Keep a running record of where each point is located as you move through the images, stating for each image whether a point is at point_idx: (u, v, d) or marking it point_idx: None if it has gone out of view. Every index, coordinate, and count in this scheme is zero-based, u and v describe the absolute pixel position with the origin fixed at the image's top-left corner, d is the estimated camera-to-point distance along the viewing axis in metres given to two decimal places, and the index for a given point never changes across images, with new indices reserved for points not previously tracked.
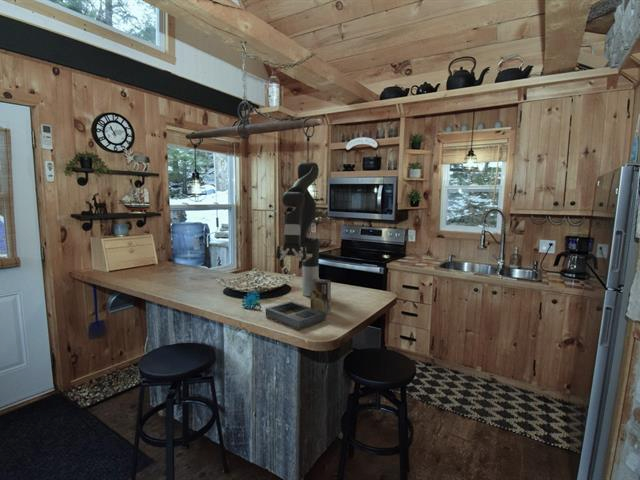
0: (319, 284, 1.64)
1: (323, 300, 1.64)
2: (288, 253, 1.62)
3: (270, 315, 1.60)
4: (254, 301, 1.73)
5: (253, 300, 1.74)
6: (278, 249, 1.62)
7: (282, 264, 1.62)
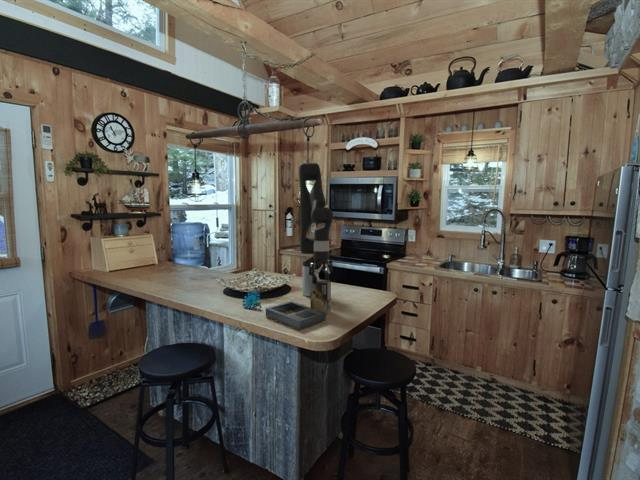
0: (319, 284, 1.64)
1: (323, 300, 1.64)
2: (321, 269, 1.65)
3: (270, 315, 1.60)
4: (254, 301, 1.74)
5: (253, 300, 1.74)
6: (313, 266, 1.61)
7: (316, 280, 1.63)
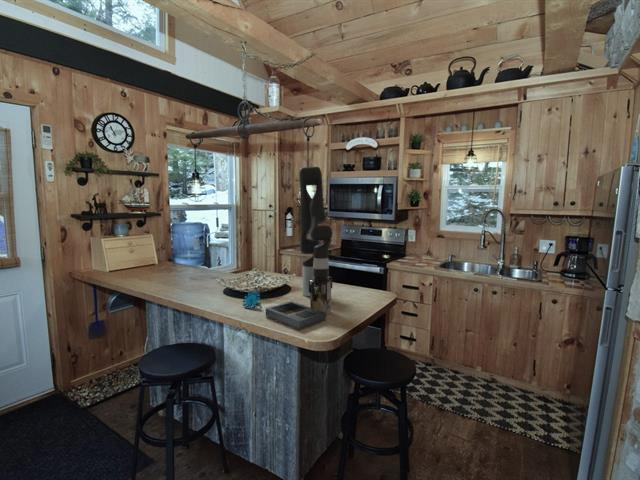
0: (319, 284, 1.64)
1: (322, 300, 1.64)
2: None
3: (270, 315, 1.60)
4: (254, 301, 1.74)
5: (253, 300, 1.74)
6: (313, 284, 1.62)
7: (316, 298, 1.64)
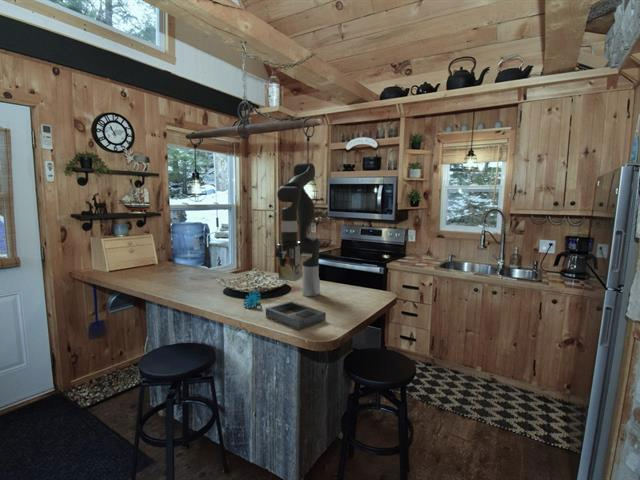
0: (287, 248, 1.55)
1: (291, 265, 1.56)
2: None
3: (270, 315, 1.60)
4: (255, 301, 1.74)
5: (254, 300, 1.74)
6: (280, 248, 1.53)
7: (284, 263, 1.56)
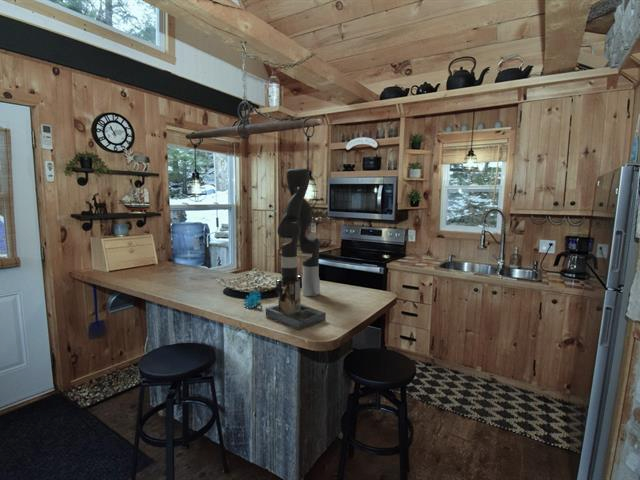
0: (287, 283, 1.57)
1: (291, 300, 1.58)
2: None
3: (270, 315, 1.60)
4: (255, 301, 1.74)
5: (254, 300, 1.75)
6: (280, 284, 1.55)
7: (284, 298, 1.58)
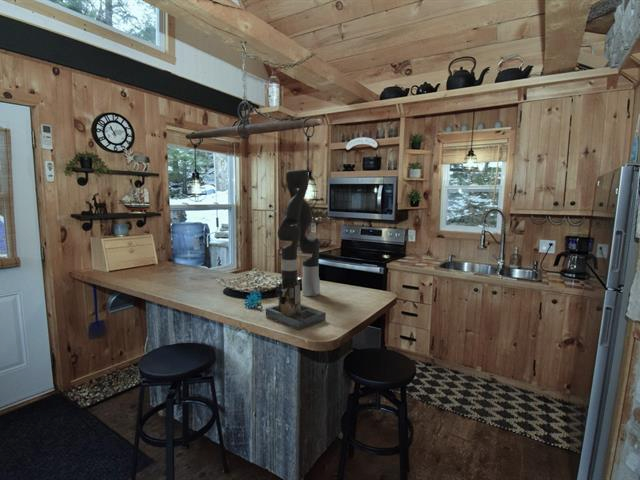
0: None
1: (291, 304, 1.58)
2: None
3: (270, 315, 1.60)
4: (255, 301, 1.74)
5: (255, 300, 1.75)
6: (280, 287, 1.55)
7: (284, 300, 1.58)
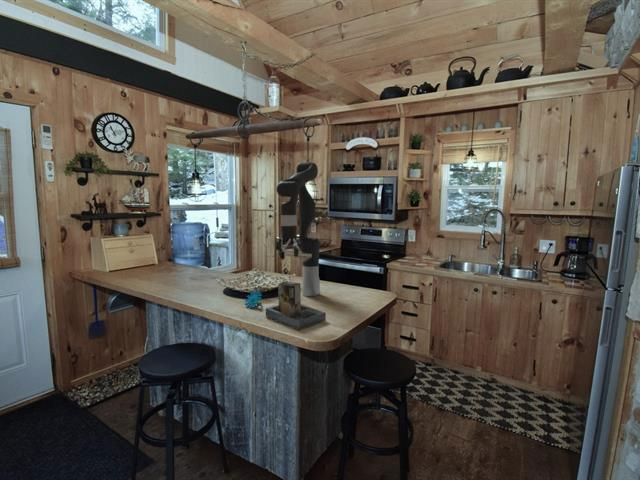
0: (287, 287, 1.58)
1: (291, 304, 1.58)
2: (288, 244, 1.62)
3: (270, 315, 1.60)
4: (256, 301, 1.74)
5: (255, 300, 1.75)
6: (280, 241, 1.58)
7: (284, 256, 1.61)
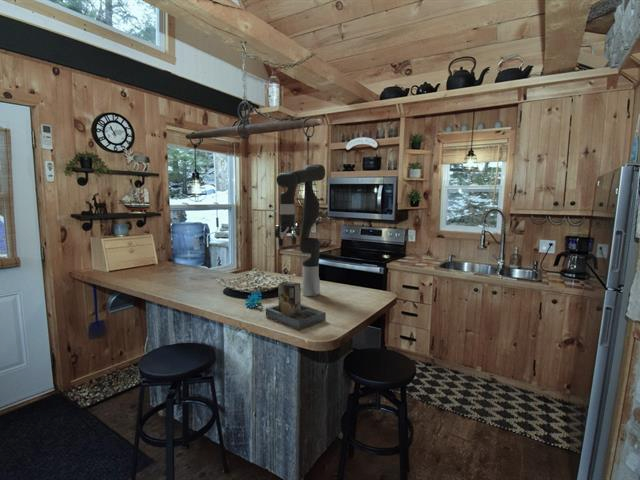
0: (287, 287, 1.58)
1: (291, 304, 1.58)
2: (287, 231, 1.71)
3: (270, 315, 1.60)
4: (256, 301, 1.74)
5: (255, 300, 1.75)
6: (279, 229, 1.67)
7: (282, 242, 1.69)
